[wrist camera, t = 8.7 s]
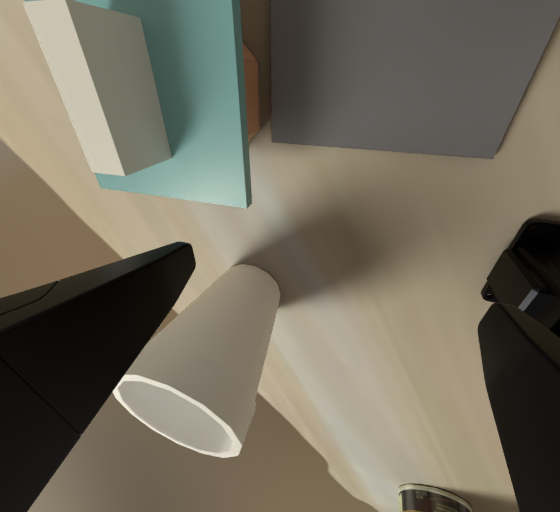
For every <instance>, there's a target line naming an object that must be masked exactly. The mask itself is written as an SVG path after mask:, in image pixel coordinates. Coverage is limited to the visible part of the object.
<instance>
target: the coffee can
mask: <svg viewBox="0 0 560 512" xmlns="http://www.w3.org/2000/svg"><path fill="white" fill-rule="evenodd" d="M398 494H399V512H472V509H471V507H470V505H469V504H468V503H467V502H466V501H464V500H463V499H461V498H460V497H458V496H456V495H454V494H452V493H450V492H447V491H444V490H442V489H438V488H435V487H431V486H426V485H419V484H405V485H402V486H400V487H399V488H398Z"/></svg>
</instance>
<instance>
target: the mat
mask: <svg viewBox="0 0 560 512" xmlns="http://www.w3.org/2000/svg"><path fill="white" fill-rule="evenodd" d="M559 17H560V0H271V122H272V142H276V143H289V144H302V145H315V146H328V147H342V148H355V149H368V150H381V151H394V152H407V153H421V154H434V155H447V156H460V157H473V158H486V159H493V158H494V156H495V154H496V151H497V149H498V147H499V145H500V143H501V141H502V139H503V137H504V134H505V132H506V130H507V128H508V126H509V124H510V122H511V119H512V117H513V115H514V113H515V111H516V109H517V107H518V105H519V102H520V100H521V98H522V96H523V94H524V92H525V90H526V88H527V85H528V83H529V81H530V79H531V77H532V75H533V73H534V71H535V68H536V66H537V64H538V62H539V60H540V58H541V56H542V54H543V51H544V49H545V47H546V45H547V43H548V41H549V39H550V36H551V34H552V32H553V30H554V28H555V26H556V24H557V22H558V19H559Z"/></svg>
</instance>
